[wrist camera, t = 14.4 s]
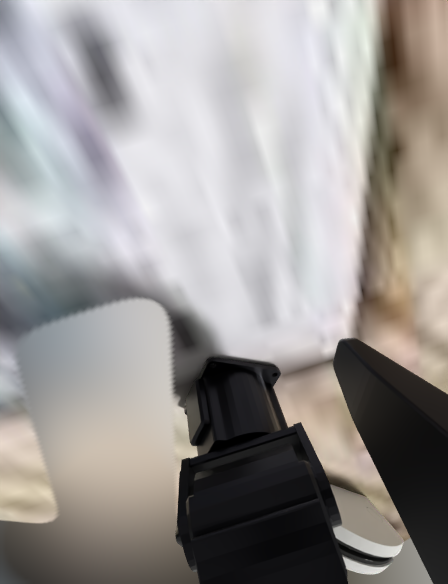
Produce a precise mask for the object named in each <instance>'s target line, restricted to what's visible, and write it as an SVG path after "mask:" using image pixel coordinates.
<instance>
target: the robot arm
mask: <svg viewBox="0 0 448 584" xmlns="http://www.w3.org/2000/svg"><path fill="white" fill-rule="evenodd" d="M213 363H214V364H213ZM333 366H334V370H335V373H336V376H337V379H338V381H339V384H340V387H341V389H342V392H343V395H344V398H345V400H346V403H347V406H348V409H349V411H350V414H351V416H352V419H353V421H354V423H355V425H356V428H357V430H358V432H359V434H360V436H361V438H362V440H363V442H364V444H365V446H366V448H367V450H368V452H369V454H370V456H371V458H372V460H373V462H374V464H375V466H376V468H377V470H378V472H379V474H380V476H381V478H382V480H383V482H384V485H385V487H386V489H387V491H388V493H389V495H390V497H391V499H392V501H393V503H394V505H395V507H396V509H397V511H398V513H399V515H400V517H401V519H402V521H403V523H404V525H405V527H406V529H407V531H408V533H409V535H410V537H411V539H412V541H413V543H414V545H415V547H416V549H417V551H418V554H419V555H420V558H421V560H422V562H423V564H424V566H425V568H426V570H427V572H428V574H429V576H430V578H431V580H432V582H433V584H448V394H446V393H445V392H443V391H441V390H440V389H438V388H437V387H435V386H433V385H432V384H430V383H428V382H427V381H425V380H424V379H422V378H420V377H419V376H417V375H415V374H414V373H412V372H410V371H409V370H407V369H406V368H404V367H402V366H401V365H399V364H397V363H396V362H394V361H392V360H391V359H389V358H388V357H386V356H384V355H383V354H381V353H379V352H378V351H376V350H375V349H373V348H371V347H370V346H368V345H366V344H365V343H363V342H361V341H360V340H358V339H356V338H347V339H341V340H340V341H339V343H338V346H337V349H336V353H335V356H334V360H333ZM280 374H281V373H280V370H279V368H278V367H273V366H266V365H260V364H253V363H247V362H240V361H234V360H227V359H221V358H209V359H207V361H206V363H205V365H204V367H203V369H202V371H201V373H200V376H199V378H197V379H196V380H195V381H194V383H193V385H192V388H191V390H190V392H189V394H188V396H187V398H186V406H185V408H184V409H185V414H186V415H187V419H188V428H189V438H190V443H191V445H192V446H197V451H198V456H197V457H194V458H191V459H190V458H186V459H183V460H182V463H181V471H180V478H179V497H178V516H177V529H176V541H177V543H178V544H179V545H181V546H182V547H183V549H184V553H185V556H186V559H187V562H188V564H189V566H190V568H191V570H192V571H194V572H196V571H197V573H198V578H199V582H200V584H348V581H347V569H346V565H345V562H344V559H343V557H342V554H341V551H340V548H339V545H338V542H337V539H336V537H335V534H334V531H333V528H335V527H338V526H341V525H342V520H341V516H340V512H339V509H338V506H337V503H336V500H335V497H334V494H333V492H332V489H331V486H330V484H329V481H328V479H327V476H326V474H325V472H324V469H323V467H322V465H321V463H320V461H319V459H318V457H317V455H316V453H315V451H314V448H313V446H312V444H311V442H310V440H309V438H308V436H307V434H306V432H305V430H304V428H303V426H302V424H301V422H300V423H297V424H293V425H294V426H292V427H288V426H287V423H286V421H285V418H284V415H283V413H282V410H281V407H280V405H279V402H278V399H277V397H276V394H275V391H274V389H273V386H274V384H275V383H276V381H277V380H278V378H279V376H280Z"/></svg>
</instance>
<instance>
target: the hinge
mask: <svg viewBox="0 0 448 584" xmlns="http://www.w3.org/2000/svg"><path fill="white" fill-rule="evenodd" d="M330 486H331V489H332V492H333V494H334V497H335V500H336V503H337V506H338V509H339V512H340V516H341V520H342V525H341V526H338V527H335V528H333V531H334V534H335V537H336V539H337V542H338V545H339V548H340V551H341V554H342V557H343V559H344V562H345V565H346V569H348V570H351V571H354V572H358V573H362V574H377V573H380V572H381V571H383V570H384V569H385V568H387V567H388V566H389V565H390V564H391V563H392V562H393V556H396V555H397V554H398V553H399V552H400V550H401V547H402V545H403V542H404V541H403V539H402V537H401V536H400V535H399V534H398V533H397V531H396V530H395V529H394V528H393V527H392V526H391V524H390V523H389V522H388V521H387V520H386V519H385V518H384V516H383V515H382V514H381V513H380V512H379V511H378V509H377V508H376V507H375V506H374V505H373V504H372V502H371V501H370V500H369V499H368V498H367V497H366V496H363V495H360V494H357V493H354V492H351V491H348V490H346V489H343V488H340V487H337V486H334V485H331V484H330Z"/></svg>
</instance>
